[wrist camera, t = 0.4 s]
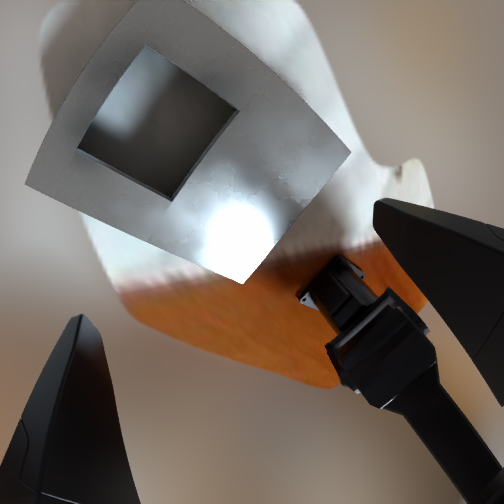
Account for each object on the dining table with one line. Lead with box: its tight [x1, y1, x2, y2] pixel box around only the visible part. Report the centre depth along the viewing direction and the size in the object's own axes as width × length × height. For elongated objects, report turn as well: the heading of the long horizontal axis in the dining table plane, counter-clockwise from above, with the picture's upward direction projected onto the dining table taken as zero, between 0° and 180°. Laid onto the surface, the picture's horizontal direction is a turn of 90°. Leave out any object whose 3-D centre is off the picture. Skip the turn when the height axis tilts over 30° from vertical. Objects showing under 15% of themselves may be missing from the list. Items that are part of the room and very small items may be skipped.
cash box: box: [25, 0, 351, 284], centre depth 17 cm, size 16×12×4 cm
